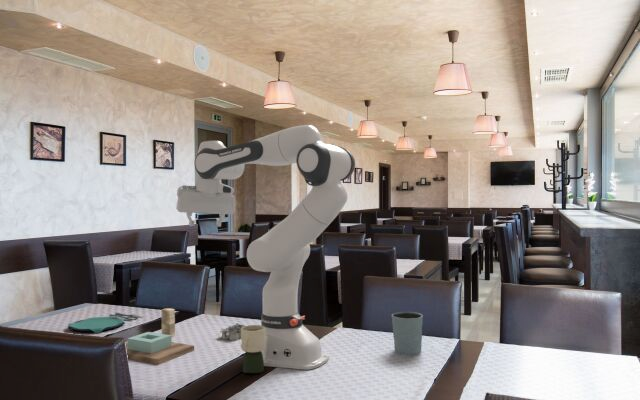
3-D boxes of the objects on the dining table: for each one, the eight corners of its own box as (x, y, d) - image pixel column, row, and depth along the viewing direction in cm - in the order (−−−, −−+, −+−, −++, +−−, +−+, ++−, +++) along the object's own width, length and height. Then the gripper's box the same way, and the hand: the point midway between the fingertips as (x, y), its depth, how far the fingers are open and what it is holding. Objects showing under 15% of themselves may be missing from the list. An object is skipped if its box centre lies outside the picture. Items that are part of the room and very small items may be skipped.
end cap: (171, 345, 173) (171, 335, 173) (151, 353, 165) (151, 342, 165) (148, 341, 178) (148, 331, 178) (127, 349, 170) (127, 338, 170)
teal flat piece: (57, 331, 199) (57, 325, 199) (113, 315, 227) (113, 310, 227) (97, 336, 192) (97, 330, 192) (151, 319, 220) (151, 314, 220)
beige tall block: (174, 336, 191) (174, 309, 190) (170, 337, 188) (169, 310, 188) (166, 334, 192) (166, 308, 192) (161, 336, 190) (161, 309, 190)
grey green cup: (422, 356, 165) (422, 319, 164) (390, 355, 167) (390, 317, 167) (422, 347, 175) (422, 311, 174) (392, 345, 177) (392, 310, 176)
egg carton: (234, 342, 183) (233, 330, 183) (218, 339, 187) (217, 327, 187) (253, 334, 193) (253, 323, 192) (237, 332, 197) (237, 321, 196)
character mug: (252, 364, 158) (252, 322, 158) (273, 367, 155) (272, 324, 155) (232, 376, 148) (232, 331, 148) (254, 380, 145) (254, 333, 145)
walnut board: (194, 350, 173) (194, 345, 173) (159, 364, 159) (159, 359, 159) (141, 341, 184) (141, 337, 184) (104, 353, 170) (104, 349, 170)
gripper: (179, 185, 174) (177, 226, 175) (238, 189, 183) (235, 228, 184) (175, 184, 179) (173, 224, 180) (232, 188, 189) (230, 225, 190)
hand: (205, 226), depth 182 cm, fingers open, 8 cm apart
